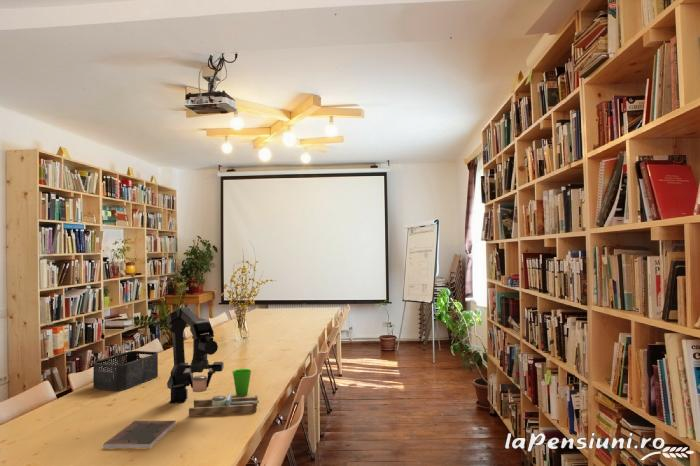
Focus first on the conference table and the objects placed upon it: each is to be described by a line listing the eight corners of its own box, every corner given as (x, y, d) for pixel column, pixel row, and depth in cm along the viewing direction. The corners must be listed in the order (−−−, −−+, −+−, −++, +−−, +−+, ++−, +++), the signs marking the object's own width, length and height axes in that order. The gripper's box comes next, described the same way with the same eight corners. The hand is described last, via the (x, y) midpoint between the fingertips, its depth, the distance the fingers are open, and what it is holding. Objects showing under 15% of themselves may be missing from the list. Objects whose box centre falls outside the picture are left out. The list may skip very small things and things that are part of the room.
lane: (188, 416, 187) (188, 407, 187) (194, 407, 198) (194, 398, 198) (255, 412, 190) (255, 403, 191) (257, 403, 202) (257, 395, 202)
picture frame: (149, 450, 156) (175, 426, 177) (150, 443, 156) (175, 420, 177) (102, 450, 156) (134, 426, 178) (102, 443, 156) (134, 420, 178)
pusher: (226, 412, 190) (226, 400, 191) (228, 405, 198) (228, 394, 199) (258, 410, 192) (258, 398, 192) (259, 403, 200) (259, 392, 201)
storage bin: (120, 392, 222) (121, 364, 222) (89, 389, 227) (89, 362, 228) (160, 376, 249) (160, 352, 250) (131, 374, 255) (132, 350, 255)
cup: (232, 398, 209) (232, 374, 210) (231, 392, 218) (232, 369, 218) (252, 396, 212) (252, 372, 212) (251, 390, 220) (251, 368, 221)
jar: (191, 392, 188) (191, 379, 188) (194, 388, 193) (194, 375, 194) (205, 392, 188) (205, 379, 189) (208, 387, 194) (208, 375, 194)
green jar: (210, 412, 191) (210, 399, 191) (213, 408, 196) (213, 395, 197) (225, 412, 191) (225, 399, 192) (226, 407, 197) (226, 394, 197)
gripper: (172, 355, 182) (171, 394, 182) (219, 354, 185) (219, 393, 184) (179, 349, 193) (178, 386, 193) (224, 348, 196) (223, 384, 195)
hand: (199, 387), depth 191 cm, fingers closed on jar, 6 cm apart
